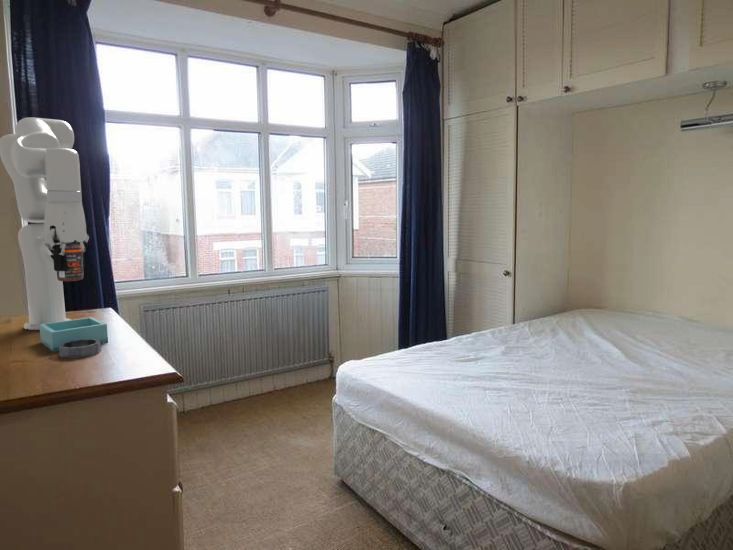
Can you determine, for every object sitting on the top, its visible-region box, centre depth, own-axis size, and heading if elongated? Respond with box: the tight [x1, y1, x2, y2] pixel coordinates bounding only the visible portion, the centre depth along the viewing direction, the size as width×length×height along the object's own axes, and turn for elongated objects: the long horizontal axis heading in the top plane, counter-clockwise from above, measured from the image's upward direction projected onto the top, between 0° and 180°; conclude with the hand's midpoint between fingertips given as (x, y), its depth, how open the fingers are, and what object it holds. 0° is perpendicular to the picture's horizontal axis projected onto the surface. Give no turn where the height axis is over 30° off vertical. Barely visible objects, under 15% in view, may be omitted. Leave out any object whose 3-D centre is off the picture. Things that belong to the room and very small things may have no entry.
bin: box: [39, 316, 109, 352], centre depth 137 cm, size 13×13×5 cm
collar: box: [58, 339, 102, 359], centre depth 127 cm, size 9×9×2 cm
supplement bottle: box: [57, 240, 84, 282], centre depth 130 cm, size 6×6×11 cm
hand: (69, 268), depth 131 cm, fingers closed on supplement bottle, 6 cm apart
